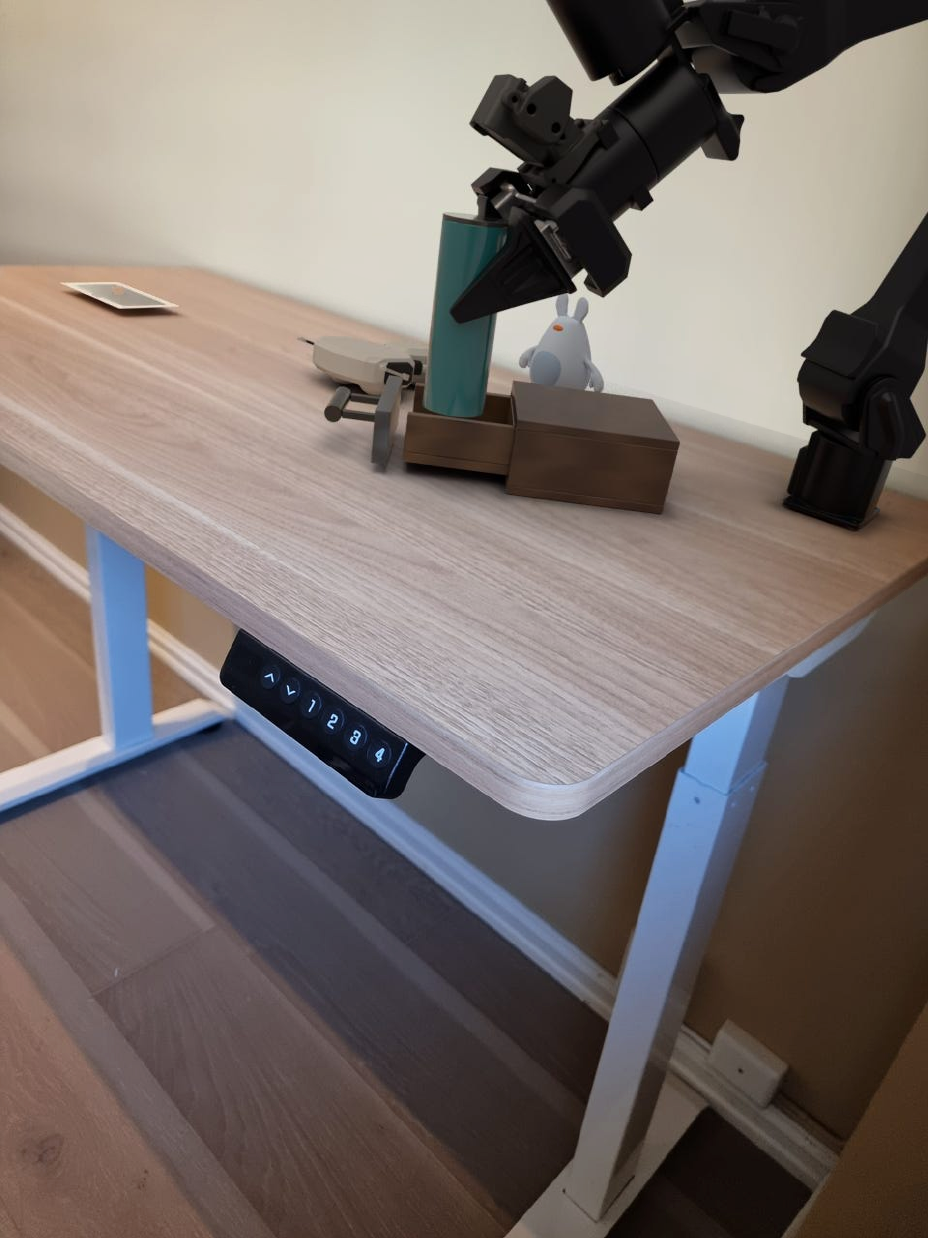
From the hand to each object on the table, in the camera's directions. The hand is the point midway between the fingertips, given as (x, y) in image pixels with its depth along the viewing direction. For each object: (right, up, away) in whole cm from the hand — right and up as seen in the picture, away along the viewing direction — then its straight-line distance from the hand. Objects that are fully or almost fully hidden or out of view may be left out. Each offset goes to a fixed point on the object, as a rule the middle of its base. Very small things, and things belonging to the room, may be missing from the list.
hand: (445, 310), depth 60 cm
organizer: (+11, -9, +15) cm, 21 cm away
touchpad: (-42, +19, +52) cm, 69 cm away
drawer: (-2, -6, +14) cm, 16 cm away
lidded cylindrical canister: (+1, -6, +4) cm, 7 cm away
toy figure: (+10, 0, +31) cm, 32 cm away
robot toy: (-7, +3, +33) cm, 34 cm away
